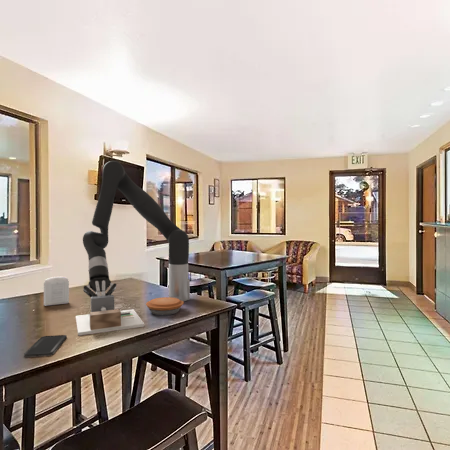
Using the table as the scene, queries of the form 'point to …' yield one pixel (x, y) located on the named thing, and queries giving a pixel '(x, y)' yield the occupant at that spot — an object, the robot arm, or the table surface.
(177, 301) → the pie
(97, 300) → the gauge carriage
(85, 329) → the base
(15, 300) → the table surface
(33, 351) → the phone
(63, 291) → the photo printer
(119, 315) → the brown wooden block
